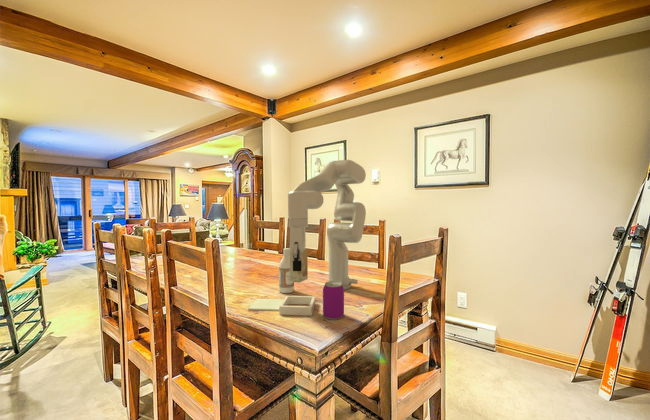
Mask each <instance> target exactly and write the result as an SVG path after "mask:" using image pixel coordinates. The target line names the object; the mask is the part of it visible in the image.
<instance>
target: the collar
mask: <svg viewBox="0 0 650 420" xmlns="http://www.w3.org/2000/svg"><path fill="white" fill-rule="evenodd" d="M283 299H284V300H283V302H282V303H281V305H280V306H279V311H278V312H279V315H285V316H287V315H288V316H312V315H313V312H314V308H315V305H316V296H315V295H314V296H311V295H310V296H309V295H286V296H284V298H283ZM307 305H308V306H307Z"/></svg>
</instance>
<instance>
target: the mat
mask: <svg viewBox="0 0 650 420" xmlns="http://www.w3.org/2000/svg"><path fill="white" fill-rule="evenodd" d="M283 300H284V298H256V299H255V300H254V302H253V303H252V304H250V306H249V307H248V311H268V312H269V311H273V312H274V311H275V312H279V306H280V305H281V303H282V302H283Z"/></svg>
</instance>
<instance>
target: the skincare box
mask: <svg viewBox="0 0 650 420" xmlns="http://www.w3.org/2000/svg"><path fill="white" fill-rule="evenodd" d="M297 252H300V251H297ZM297 255H299V254H297ZM308 263H309V261H308V248H305V249H304V251H303V252H302V253H301V268H302V270H301V271H293V252H292V253H290V281H292V282H294V283H298V284H299V283H302V282H305V281H306V280H308V279H309V278H308V275H309V274H308V269H309V267H308Z"/></svg>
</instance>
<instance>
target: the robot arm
mask: <svg viewBox="0 0 650 420" xmlns="http://www.w3.org/2000/svg"><path fill="white" fill-rule="evenodd" d="M366 174H367V173H366V169H365V168H364V167H363V166H361V165H360V164H359V163H357V162H356V161H353V160H350V159H342V160H338V159H337V160H332V161H329V162H328V163H327V164H326V165H325V166H324V168H323V169H322V170H321V171H320V172H319V173H318V174H317V175H315V176H312V177H311V178H309V179H307V180H305V181H303V182H301V183H300V184H299V185H297V186H296V187H295V188H294V189H293V190H291V191H289V192H288V193H287V213H288V214H287V215H288V217H287V218H288V219H287V220H288V222H287V223H288V228H290V229H289V249H290V253H292V252H293V271H301V270H302V268H301V253H302V252H303V251H304V249H306V228H308V227H309V225H308V224H309V215H308V214H309V213H308V212H309V210H318V209H319V208H321V207H323V204H324V196H323V194H322V193H325V192H327V191H329V190H331V189H332V188H333V187H334V186H335V188H336V191H337V197H336V201H335V207H334V212H333V217H334V219H335V220H336V221H337V222H332V223H330V224H329V225H328V226H327V228H326V236H327V241H328V282H329V281H337V282H341V283H342V285H343V288H344V291H346V290H349V289H351V288H352V284H353V285H357V284H358V279H355V278H350V276H349V250H348V247H347V245H346V244H347V243H349V244H358V243H360V242H361V240H362V237H363V234H364V233H363V232H364V227H365V223H366V215H367V212H366V211H367V210H366V206H365V205H364V204H363V203H362V202H356V201H355V202H354V200H355V193H354V191H353V189H352V188H351V187H350V185H358V184H362V183H364V182H365V180H366ZM338 221H340V222H338ZM297 251H300V252H297ZM297 254H299V255H297Z"/></svg>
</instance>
